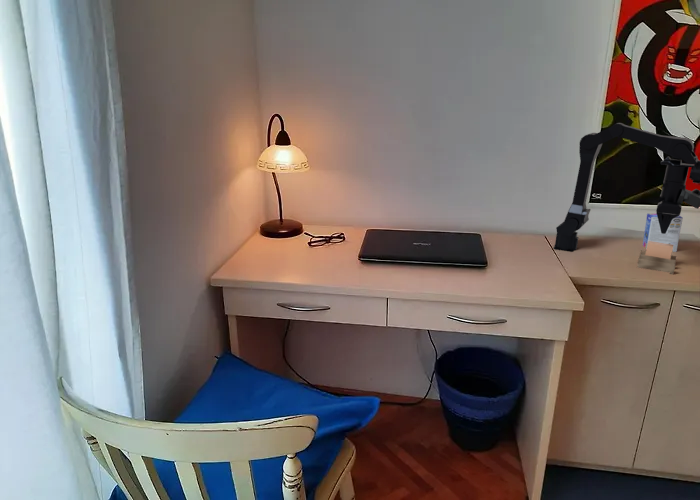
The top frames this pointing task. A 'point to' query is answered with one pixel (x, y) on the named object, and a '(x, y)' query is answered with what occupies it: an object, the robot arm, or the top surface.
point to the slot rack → (656, 263)
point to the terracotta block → (659, 250)
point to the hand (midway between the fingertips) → (664, 230)
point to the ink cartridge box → (655, 233)
